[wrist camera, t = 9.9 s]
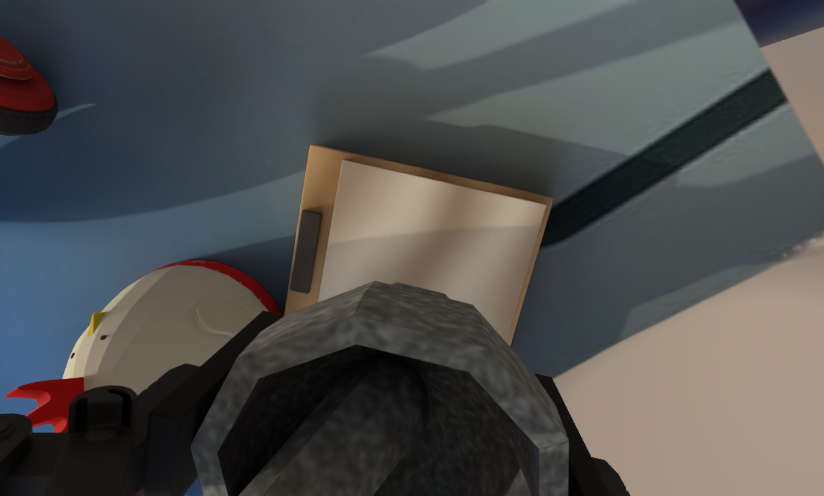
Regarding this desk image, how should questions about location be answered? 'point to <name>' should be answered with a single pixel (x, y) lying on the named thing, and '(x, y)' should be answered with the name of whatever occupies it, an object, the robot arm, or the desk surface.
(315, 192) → the scale
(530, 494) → the mortar and pestle
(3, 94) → the headphones
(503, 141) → the desk surface
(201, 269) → the kitchen timer
